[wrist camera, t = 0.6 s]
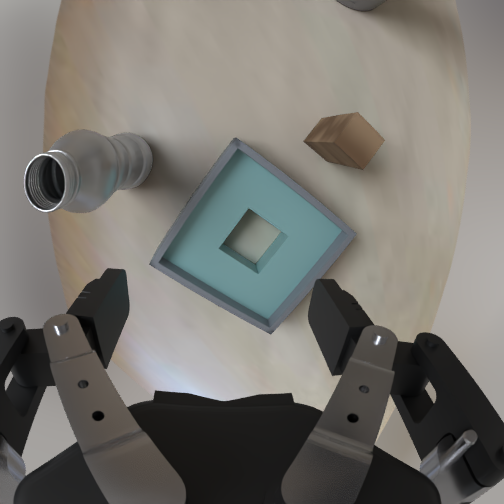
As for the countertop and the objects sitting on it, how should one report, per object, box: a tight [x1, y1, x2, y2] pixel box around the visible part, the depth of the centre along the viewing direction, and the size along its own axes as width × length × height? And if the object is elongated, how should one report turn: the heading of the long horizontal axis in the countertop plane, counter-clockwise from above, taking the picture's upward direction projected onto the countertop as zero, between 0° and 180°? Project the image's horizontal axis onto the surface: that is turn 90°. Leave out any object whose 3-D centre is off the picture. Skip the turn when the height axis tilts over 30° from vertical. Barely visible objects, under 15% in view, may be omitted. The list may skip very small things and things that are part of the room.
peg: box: [303, 112, 385, 170], centre depth 29 cm, size 4×4×10 cm
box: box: [149, 138, 356, 334], centre depth 35 cm, size 17×18×5 cm
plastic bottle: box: [24, 129, 153, 213], centre depth 23 cm, size 6×7×20 cm
